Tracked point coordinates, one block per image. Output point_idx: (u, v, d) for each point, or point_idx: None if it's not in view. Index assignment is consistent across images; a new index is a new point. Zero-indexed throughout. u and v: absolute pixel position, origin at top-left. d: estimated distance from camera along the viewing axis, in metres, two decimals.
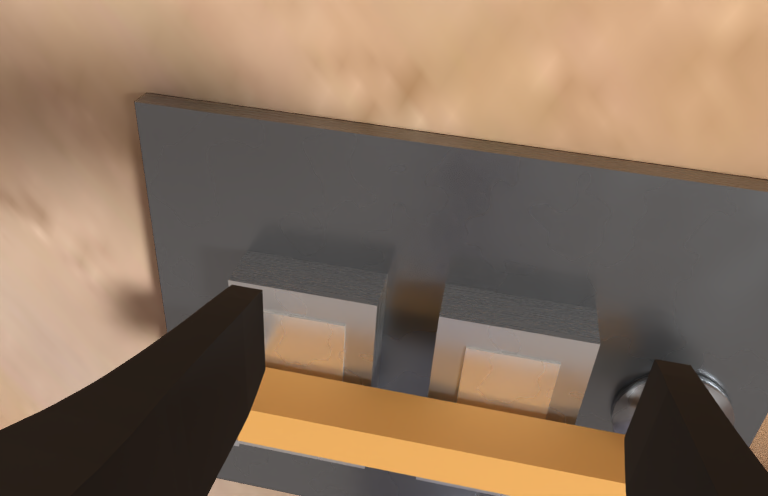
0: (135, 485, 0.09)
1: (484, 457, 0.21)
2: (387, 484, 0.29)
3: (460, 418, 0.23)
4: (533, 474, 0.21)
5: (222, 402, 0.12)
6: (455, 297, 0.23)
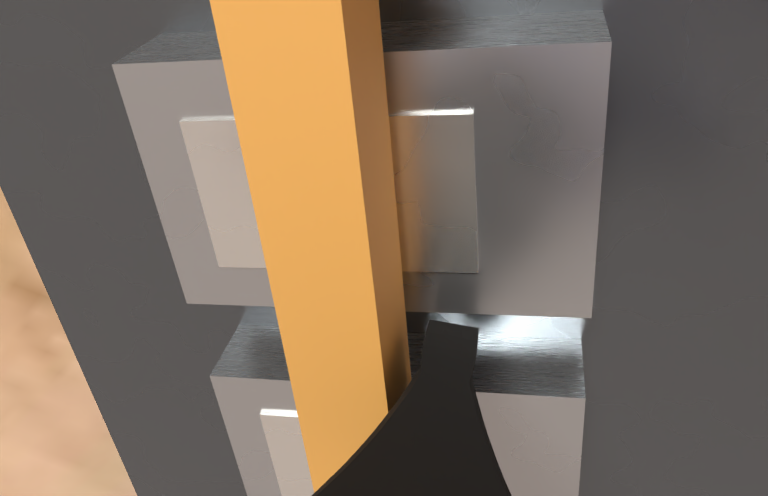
0: None
1: (276, 294, 0.10)
2: (736, 316, 0.14)
3: None
4: (281, 204, 0.10)
5: None
6: None
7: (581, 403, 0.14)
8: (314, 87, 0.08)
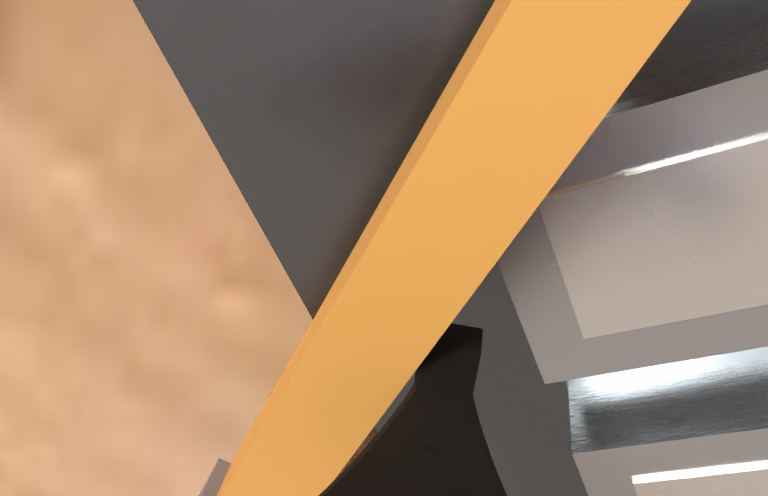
0: None
1: (359, 271, 0.10)
2: None
3: (350, 260, 0.11)
4: (432, 199, 0.09)
5: None
6: None
7: None
8: (554, 121, 0.08)
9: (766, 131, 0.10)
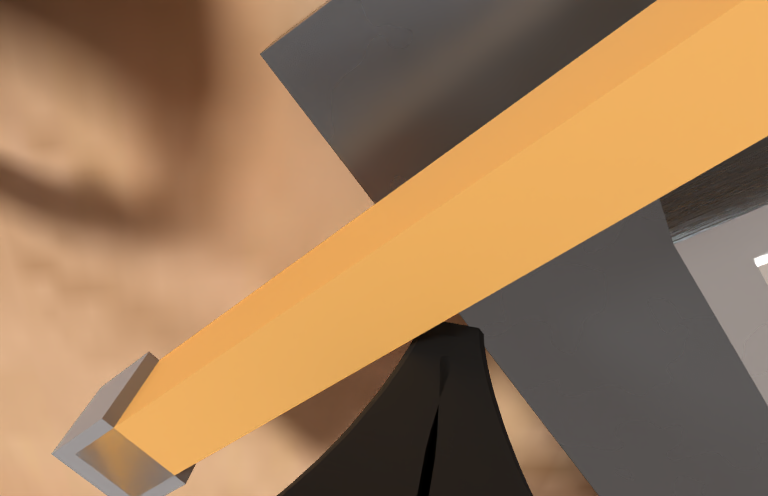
0: None
1: (425, 222, 0.10)
2: None
3: (391, 205, 0.11)
4: (530, 179, 0.09)
5: None
6: None
7: None
8: (678, 149, 0.09)
9: None
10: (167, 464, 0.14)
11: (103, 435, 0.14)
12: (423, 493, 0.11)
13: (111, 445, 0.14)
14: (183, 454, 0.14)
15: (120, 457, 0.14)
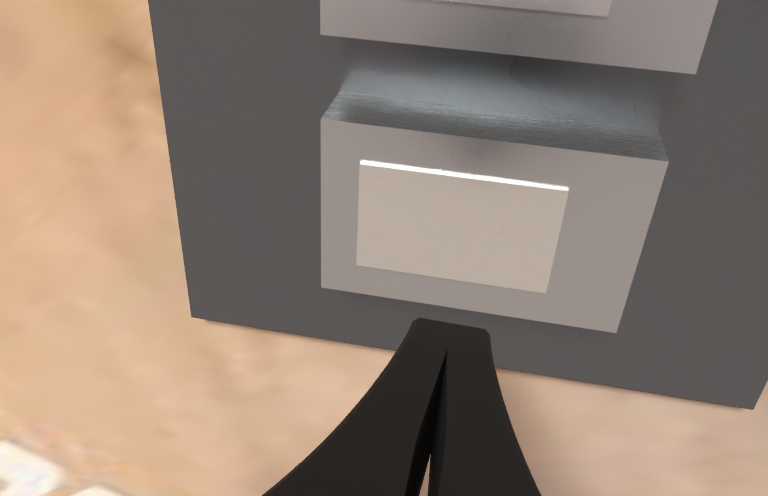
0: None
1: None
2: None
3: None
4: None
5: (426, 442, 0.11)
6: None
7: (664, 166, 0.15)
8: None
9: None
10: None
11: None
12: (430, 495, 0.11)
13: None
14: None
15: None
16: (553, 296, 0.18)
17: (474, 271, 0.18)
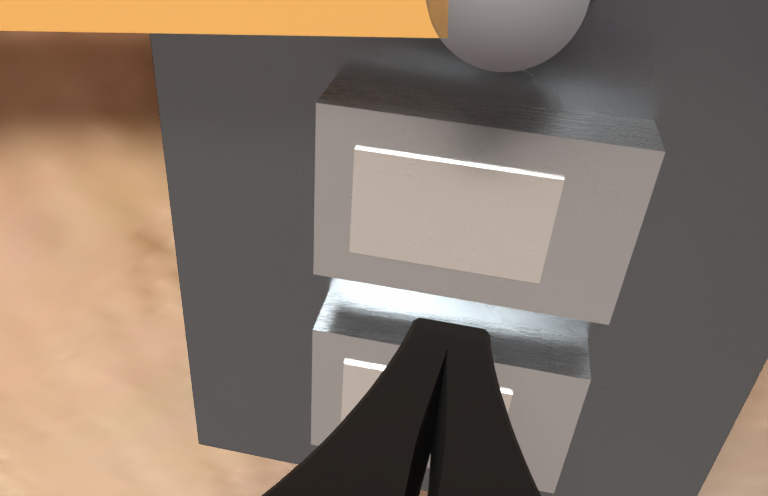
0: None
1: None
2: (699, 336, 0.20)
3: None
4: None
5: (427, 442, 0.11)
6: None
7: (587, 383, 0.19)
8: (329, 11, 0.13)
9: (497, 165, 0.16)
10: None
11: None
12: (430, 494, 0.11)
13: None
14: None
15: None
16: None
17: None
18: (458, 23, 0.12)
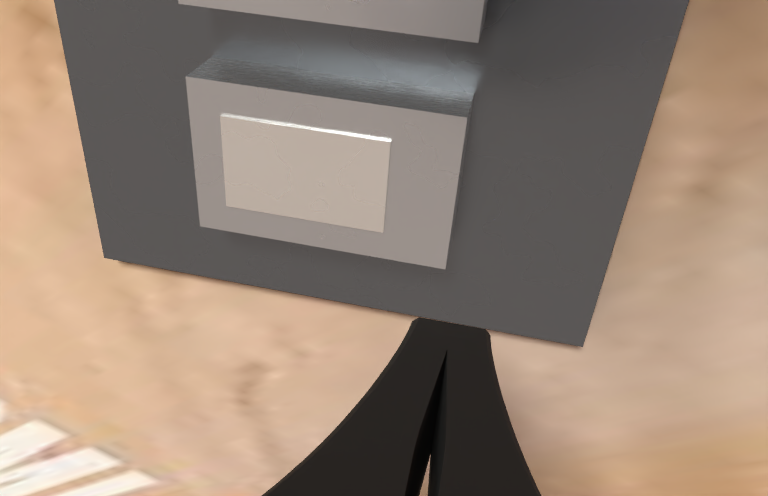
0: None
1: None
2: (585, 82, 0.19)
3: None
4: None
5: (426, 443, 0.11)
6: None
7: (464, 121, 0.18)
8: None
9: None
10: None
11: None
12: (430, 494, 0.11)
13: None
14: None
15: None
16: (390, 235, 0.21)
17: (323, 212, 0.21)
18: None
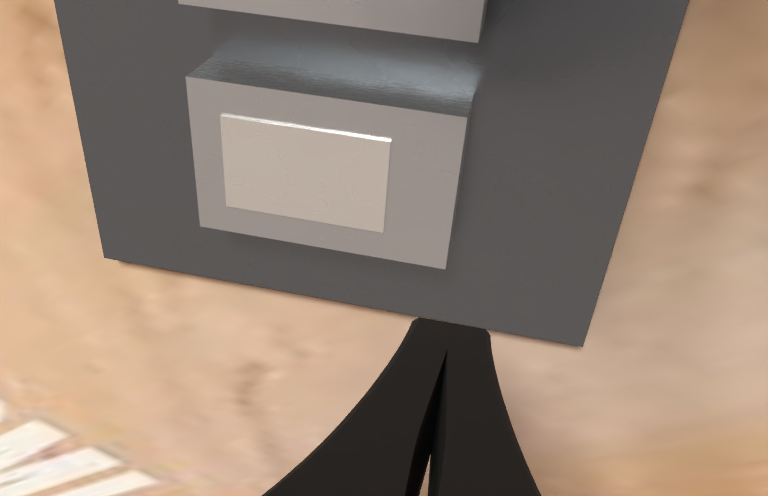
0: None
1: None
2: (585, 82, 0.19)
3: None
4: None
5: (426, 443, 0.11)
6: None
7: (464, 121, 0.18)
8: None
9: None
10: None
11: None
12: (430, 494, 0.11)
13: None
14: None
15: None
16: (390, 235, 0.21)
17: (323, 212, 0.21)
18: None
